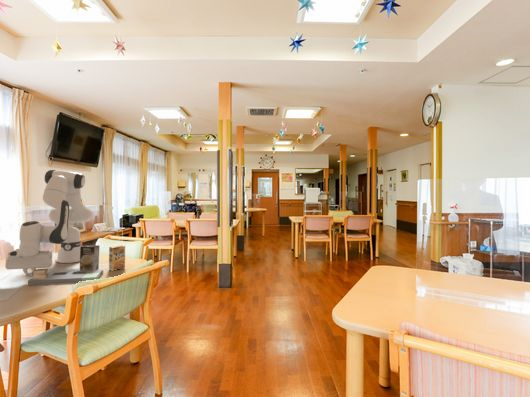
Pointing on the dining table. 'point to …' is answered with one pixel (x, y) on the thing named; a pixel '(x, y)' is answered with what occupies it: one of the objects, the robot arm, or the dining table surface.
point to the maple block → (40, 273)
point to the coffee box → (89, 257)
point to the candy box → (116, 257)
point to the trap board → (67, 277)
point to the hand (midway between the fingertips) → (29, 276)
